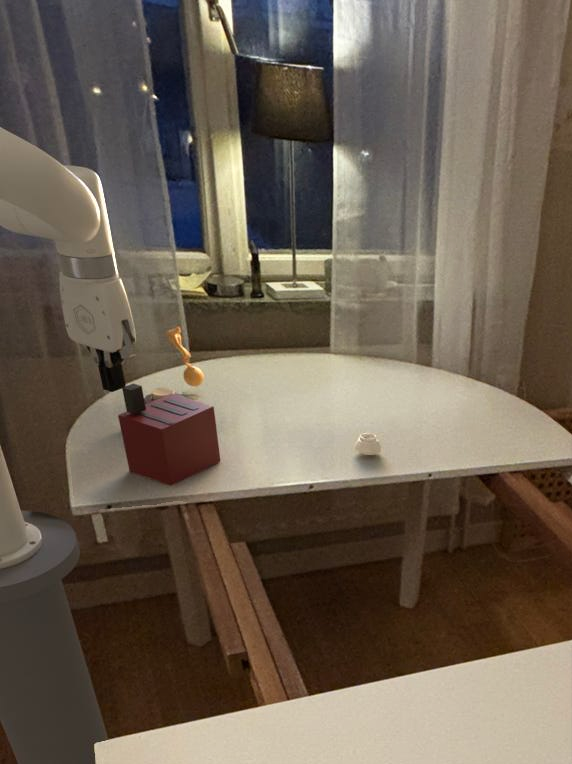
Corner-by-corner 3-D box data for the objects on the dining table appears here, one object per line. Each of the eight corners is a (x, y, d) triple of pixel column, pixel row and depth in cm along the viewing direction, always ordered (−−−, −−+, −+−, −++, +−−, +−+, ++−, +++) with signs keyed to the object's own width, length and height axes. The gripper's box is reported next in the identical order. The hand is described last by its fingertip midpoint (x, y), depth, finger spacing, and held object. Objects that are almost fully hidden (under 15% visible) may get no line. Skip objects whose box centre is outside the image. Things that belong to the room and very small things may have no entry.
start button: (164, 406, 142) (163, 397, 141) (148, 401, 143) (146, 391, 142) (180, 399, 145) (178, 390, 144) (163, 394, 146) (162, 385, 145)
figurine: (208, 392, 158) (201, 331, 151) (178, 394, 155) (169, 332, 148) (200, 378, 163) (193, 320, 156) (170, 380, 161) (162, 321, 154)
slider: (135, 414, 122) (130, 390, 120) (126, 411, 123) (121, 387, 120) (146, 410, 124) (141, 385, 122) (137, 407, 125) (133, 383, 122)
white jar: (356, 444, 145) (352, 455, 141) (356, 429, 144) (352, 439, 139) (382, 447, 145) (379, 457, 141) (383, 432, 144) (379, 442, 140)
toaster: (171, 486, 126) (161, 428, 120) (129, 472, 128) (117, 414, 122) (220, 461, 135) (213, 405, 128) (180, 447, 137) (171, 392, 131)
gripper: (29, 260, 111) (61, 384, 123) (107, 280, 107) (132, 407, 118) (71, 251, 117) (98, 371, 128) (147, 271, 112) (167, 392, 124)
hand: (114, 388), depth 123 cm, fingers closed
